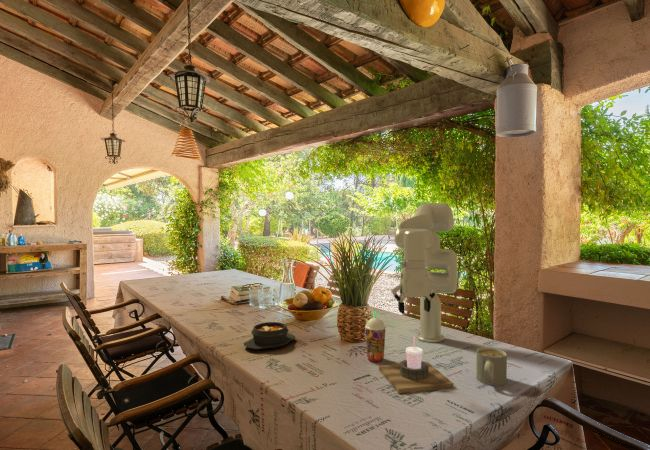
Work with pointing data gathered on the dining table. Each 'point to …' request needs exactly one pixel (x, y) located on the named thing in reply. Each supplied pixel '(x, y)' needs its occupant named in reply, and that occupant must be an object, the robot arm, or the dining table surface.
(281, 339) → the casserole
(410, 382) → the socket board
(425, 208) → the robot arm
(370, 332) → the smoothie
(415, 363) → the beverage cup
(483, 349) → the coffee mug
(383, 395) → the dining table surface
